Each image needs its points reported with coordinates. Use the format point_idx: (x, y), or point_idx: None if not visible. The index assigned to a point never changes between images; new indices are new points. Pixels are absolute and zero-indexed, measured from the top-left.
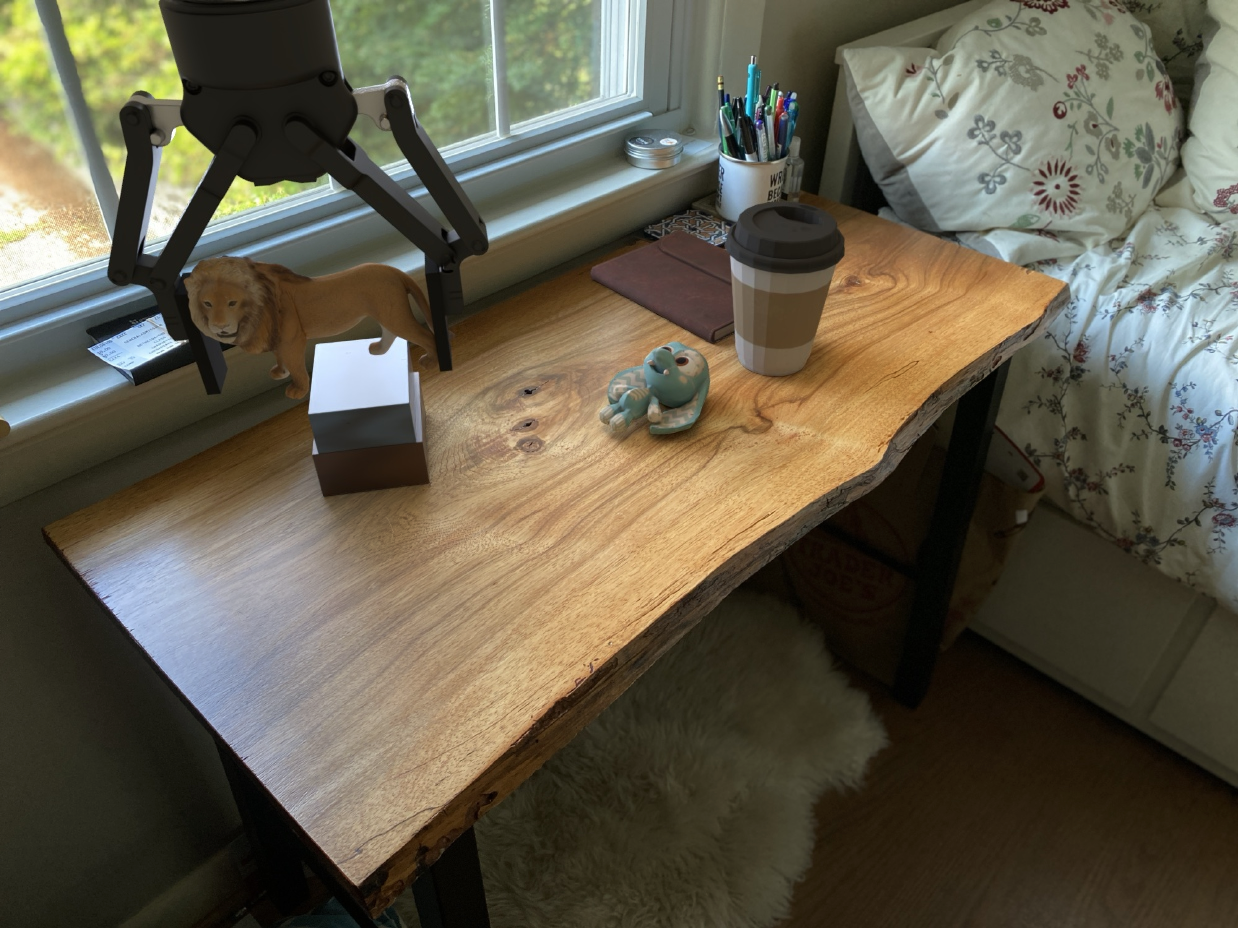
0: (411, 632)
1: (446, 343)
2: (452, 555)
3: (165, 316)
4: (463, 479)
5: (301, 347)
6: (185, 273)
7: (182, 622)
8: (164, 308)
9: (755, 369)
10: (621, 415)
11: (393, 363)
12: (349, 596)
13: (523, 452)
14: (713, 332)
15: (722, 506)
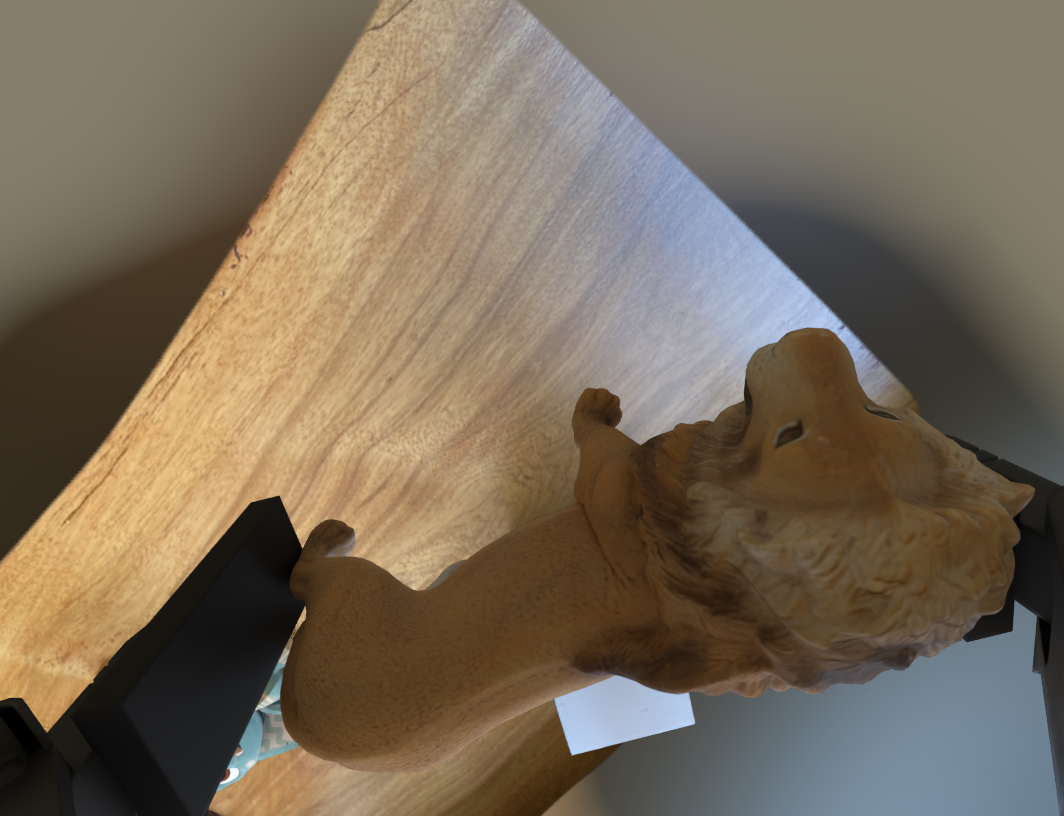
0: (470, 295)
1: (222, 542)
2: (453, 421)
3: (995, 462)
4: (472, 546)
5: (583, 469)
6: (1002, 628)
7: (744, 293)
8: (1015, 475)
9: None
10: (279, 661)
11: (573, 695)
12: (560, 346)
13: None
14: None
15: (132, 528)
